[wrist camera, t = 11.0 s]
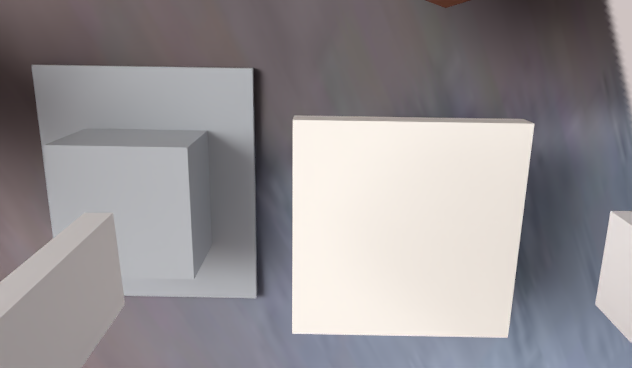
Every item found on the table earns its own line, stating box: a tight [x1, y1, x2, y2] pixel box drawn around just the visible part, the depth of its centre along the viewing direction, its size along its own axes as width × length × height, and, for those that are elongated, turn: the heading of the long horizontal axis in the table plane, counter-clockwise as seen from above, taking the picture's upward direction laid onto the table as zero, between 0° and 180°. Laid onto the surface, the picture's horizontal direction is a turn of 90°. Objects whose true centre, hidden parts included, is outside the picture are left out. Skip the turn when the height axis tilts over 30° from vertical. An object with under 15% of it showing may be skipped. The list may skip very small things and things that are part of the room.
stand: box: [31, 65, 257, 298], centre depth 34 cm, size 16×14×6 cm
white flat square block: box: [292, 115, 534, 338], centre depth 29 cm, size 12×12×2 cm
